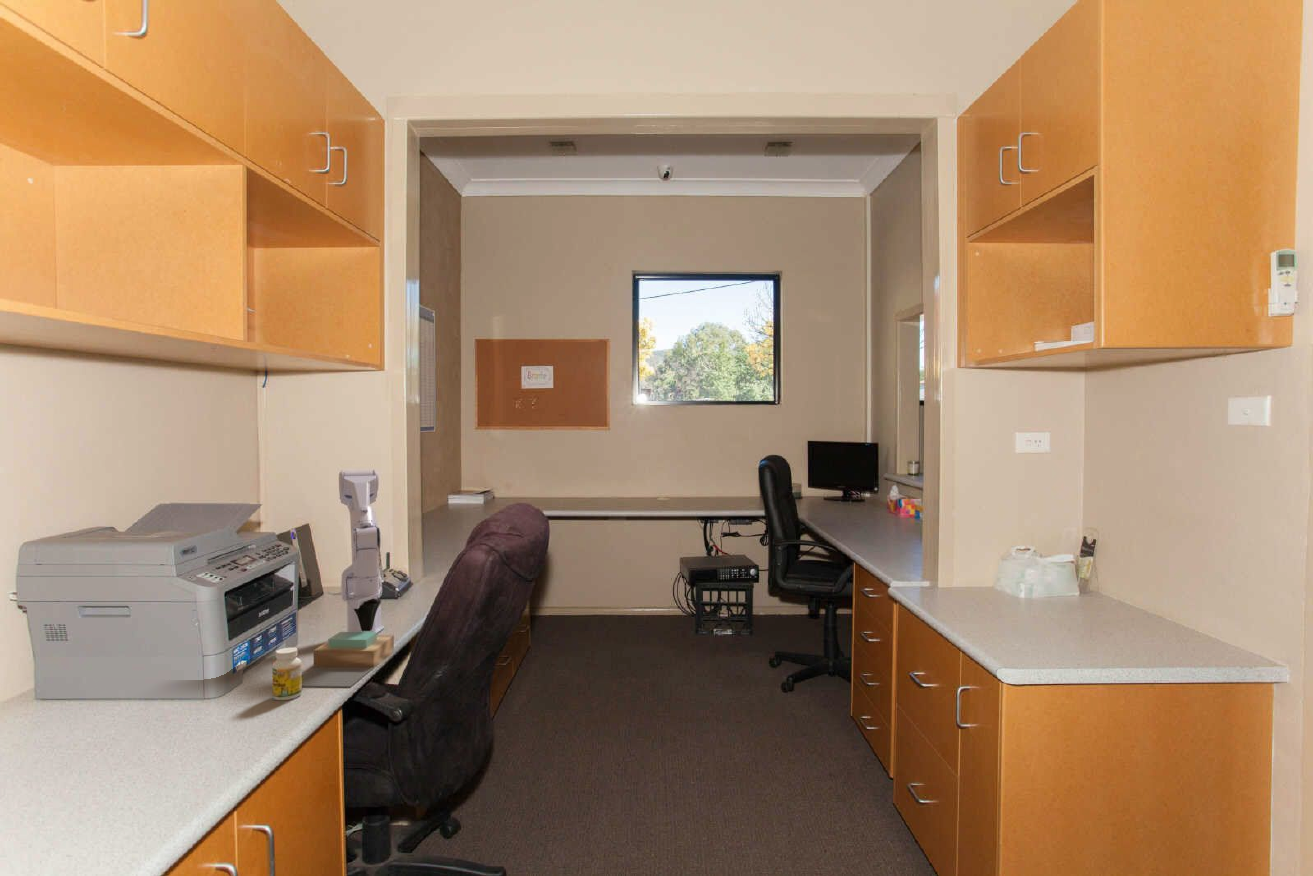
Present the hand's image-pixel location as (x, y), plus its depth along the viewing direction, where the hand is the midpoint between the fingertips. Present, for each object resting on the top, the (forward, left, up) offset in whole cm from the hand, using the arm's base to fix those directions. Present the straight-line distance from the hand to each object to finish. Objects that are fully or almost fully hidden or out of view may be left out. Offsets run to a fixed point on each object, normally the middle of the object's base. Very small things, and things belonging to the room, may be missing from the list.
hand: (366, 630), depth 180 cm
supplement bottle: (+30, -4, -5) cm, 30 cm away
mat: (+19, 0, -5) cm, 19 cm away
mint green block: (+8, 0, -1) cm, 8 cm away
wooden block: (+7, 0, -5) cm, 8 cm away
